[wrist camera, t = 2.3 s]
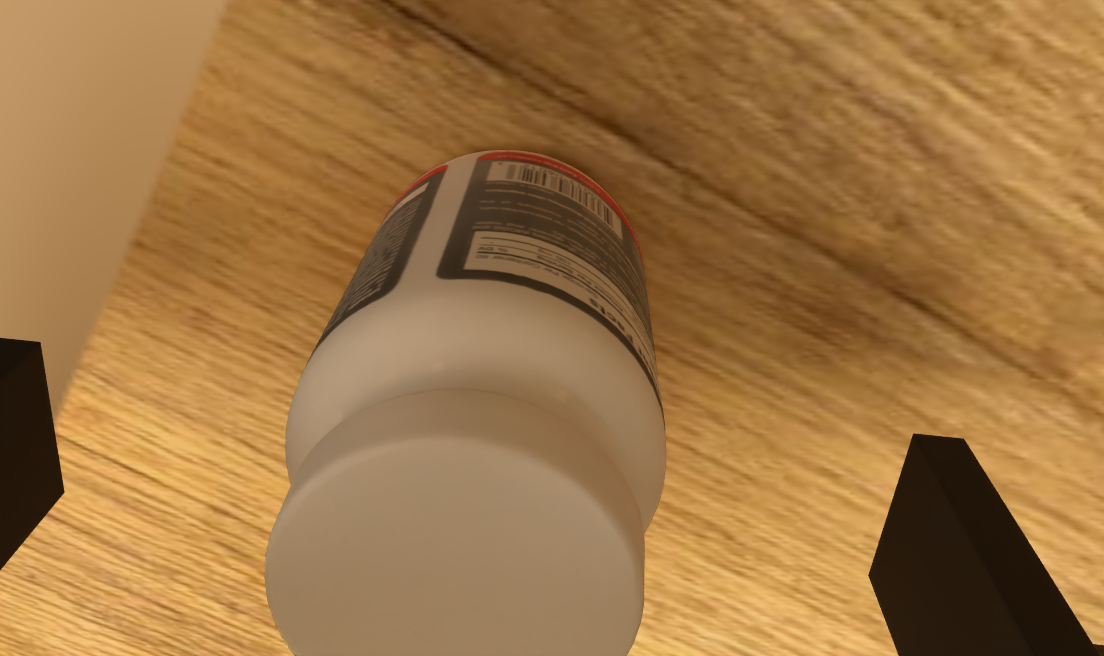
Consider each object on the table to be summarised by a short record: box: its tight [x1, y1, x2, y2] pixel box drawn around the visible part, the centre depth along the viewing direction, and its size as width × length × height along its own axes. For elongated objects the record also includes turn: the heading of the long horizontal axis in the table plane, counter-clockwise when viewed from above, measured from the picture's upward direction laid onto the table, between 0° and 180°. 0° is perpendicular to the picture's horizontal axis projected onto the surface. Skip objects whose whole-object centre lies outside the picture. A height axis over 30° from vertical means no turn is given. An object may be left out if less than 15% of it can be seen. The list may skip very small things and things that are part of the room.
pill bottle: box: [265, 150, 666, 656], centre depth 16 cm, size 6×6×10 cm
